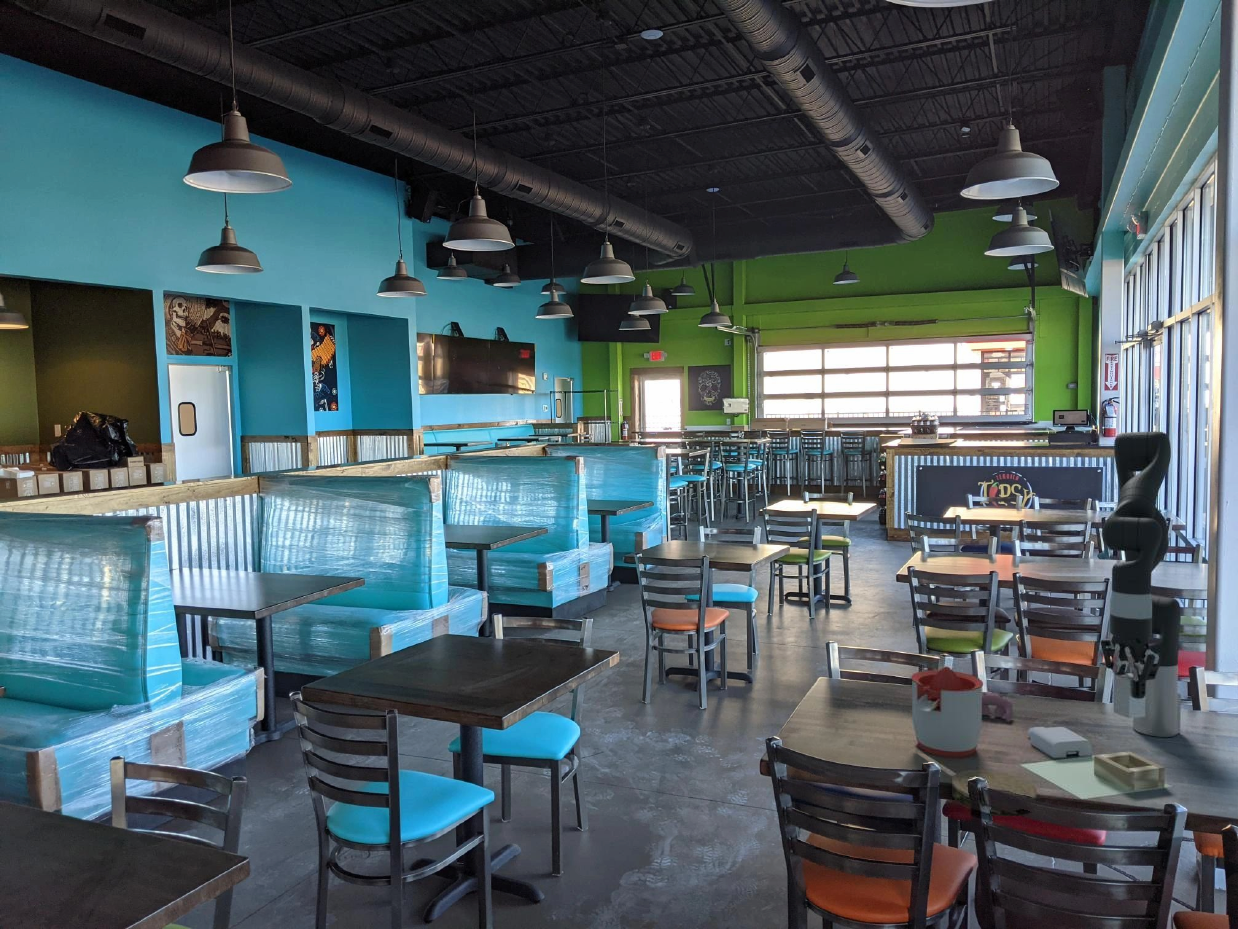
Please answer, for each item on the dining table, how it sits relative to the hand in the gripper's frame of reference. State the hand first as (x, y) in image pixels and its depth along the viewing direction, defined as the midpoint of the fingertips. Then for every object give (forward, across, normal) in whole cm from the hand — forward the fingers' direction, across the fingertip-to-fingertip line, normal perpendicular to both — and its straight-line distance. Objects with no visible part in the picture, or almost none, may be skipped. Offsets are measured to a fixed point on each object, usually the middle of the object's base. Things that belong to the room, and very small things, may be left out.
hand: (1129, 694), depth 180 cm
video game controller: (+20, +44, 0) cm, 48 cm away
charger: (+20, +21, +1) cm, 29 cm away
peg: (+4, 0, 0) cm, 4 cm away
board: (+19, +4, +5) cm, 20 cm away
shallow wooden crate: (+18, 0, 0) cm, 18 cm away
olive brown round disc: (+20, +2, +31) cm, 37 cm away
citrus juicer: (+20, +26, +26) cm, 42 cm away
